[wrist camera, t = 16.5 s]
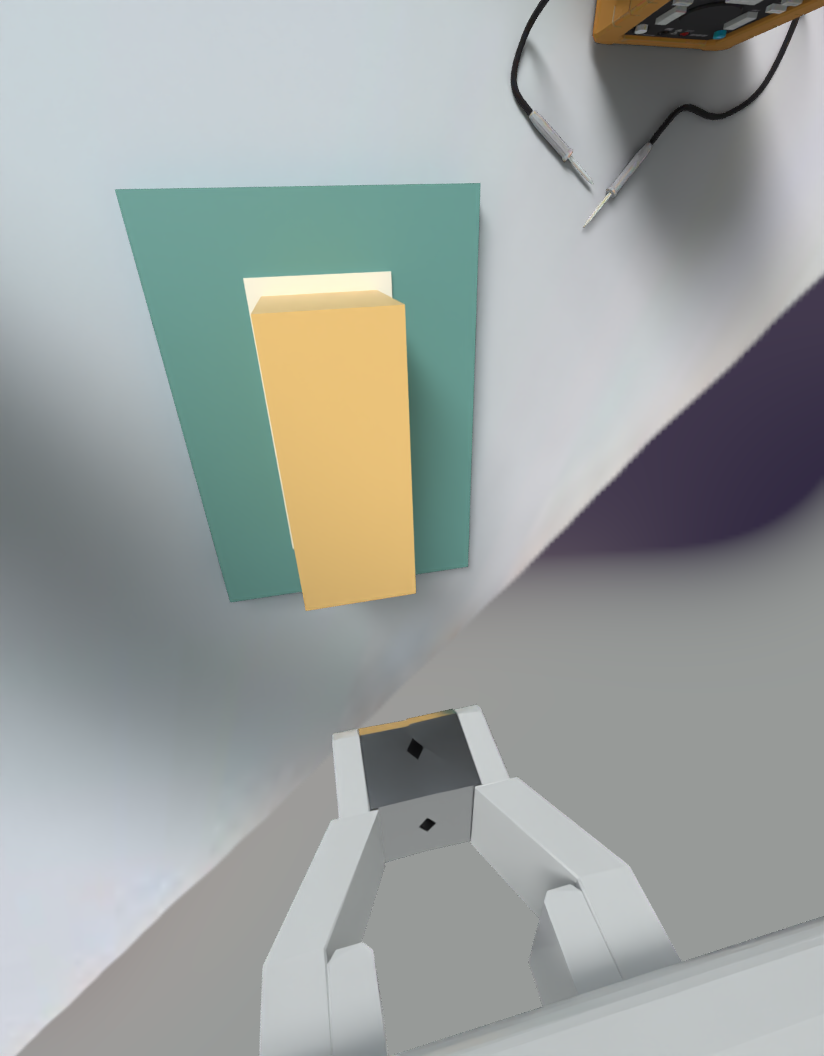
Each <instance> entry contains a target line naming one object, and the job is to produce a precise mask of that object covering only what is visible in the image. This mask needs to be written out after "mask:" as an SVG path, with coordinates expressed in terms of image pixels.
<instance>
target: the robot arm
mask: <svg viewBox="0 0 824 1056" xmlns="http://www.w3.org/2000/svg"><path fill="white" fill-rule="evenodd" d="M359 738H360V739H359ZM332 747H333V758H334V769H335V780H336V791H337V802H338V813H339V818H338V819H334V820H331V822H330V824H329V826H328V828H327V830H326V832H325V834H324V836H323V839H322V841H321V843H320V845H319V847H318V849H317V852H316V854H315V856H314V858H313V860H312V862H311V864H310V866H309V868H308V871H307V873H306V875H305V878H304V879H303V882H302V884H301V886H300V888H299V890H298V892H297V894H296V896H295V898H294V901H293V903H292V905H291V907H290V909H289V911H288V913H287V915H286V918H285V920H284V922H283V924H282V926H281V928H280V930H279V933H278V935H277V937H276V939H275V941H274V943H273V946H272V948H271V950H270V952H269V954H268V957H267V958H266V960H265V963H264V965H263V970H262V996H261V1024H260V1051H259V1056H389V1054H388V1046H387V1039H386V1032H385V1024H384V1017H383V1010H382V1003H381V997H380V991H379V984H378V978H377V972H376V965H375V959H374V952H373V949H371V948H370V947H368V946H367V945H366V944H364V943H363V942H362V939H363V936H364V933H365V929H366V926H367V923H368V920H369V916H370V913H371V910H372V907H373V904H374V900H375V897H376V894H377V891H378V888H379V884H380V881H381V878H382V875H383V872H384V868H385V863H386V862H389V861H393V860H396V859H400V858H403V857H407V856H410V855H414V854H417V853H421V852H424V851H428V850H433V849H437V848H442V847H446V846H450V845H455V844H460V843H464V842H468V841H471V844H472V845H473V846H474V848H475V849H476V850H477V851H478V852H479V853H480V854H481V855H482V856H483V858H484V859H485V860H486V861H487V862H488V863H489V864H490V865H491V866H492V867H493V869H494V870H495V871H496V872H497V873H498V874H499V875H500V876H501V877H502V878H503V880H504V881H505V882H506V883H507V884H508V885H509V886H510V887H511V888H512V889H513V890H514V892H515V893H516V894H517V895H518V896H519V897H520V898H521V899H522V900H523V902H524V903H525V904H526V905H527V906H528V907H529V908H530V909H531V910H532V911H533V913H534V914H535V915H536V916H537V917H538V918H539V923H538V927H537V930H536V934H535V938H534V942H533V946H532V950H531V954H530V958H529V961H528V963H529V966H530V969H531V972H532V975H533V978H534V981H535V984H536V988H537V990H538V993H539V997H540V1000H541V1003H542V1006H543V1007H540V1008H537V1009H534V1010H531V1011H528V1012H524V1013H521V1014H518V1015H515V1016H512V1017H509V1018H506V1019H503V1020H500V1021H497V1022H493V1023H490V1024H487V1025H484V1026H481V1027H478V1028H475V1029H472V1030H469V1031H466V1032H462V1033H460V1034H456V1035H453V1036H450V1037H447V1038H444V1039H441V1040H438V1041H435V1042H432V1043H428V1044H426V1045H423V1046H419V1047H416V1048H413V1049H410V1050H407V1051H404V1052H401V1053H397V1054H394V1055H391V1056H824V916H822V917H819V918H816V919H813V920H809V921H806V922H804V923H800V924H797V925H794V926H791V927H788V928H785V929H782V930H778V931H776V932H772V933H769V934H766V935H763V936H760V937H757V938H754V939H751V940H748V941H744V942H741V943H739V944H735V945H732V946H729V947H726V948H723V949H720V950H717V951H714V952H710V953H708V954H704V955H701V956H698V957H695V958H692V959H689V960H686V961H682V962H681V960H680V958H679V956H678V954H677V953H676V951H675V949H674V947H673V945H672V943H671V941H670V939H669V938H668V936H667V934H666V932H665V930H664V929H663V927H662V925H661V923H660V921H659V919H658V917H657V916H656V914H655V912H654V910H653V908H652V907H651V905H650V903H649V901H648V899H647V897H646V895H645V894H644V892H643V890H642V888H641V886H640V884H639V882H638V881H637V879H636V877H635V875H634V873H633V872H632V870H631V868H630V866H629V865H628V864H627V863H625V862H624V861H623V860H622V859H620V858H619V857H618V856H617V855H615V854H614V853H613V852H612V851H610V850H609V849H608V848H606V847H605V846H604V845H603V844H601V843H600V842H599V841H598V840H596V839H595V838H594V837H593V836H591V835H590V834H589V833H588V832H586V831H585V830H584V829H583V828H581V827H580V826H579V825H577V824H576V823H575V822H574V821H573V820H571V819H570V818H569V817H568V816H566V815H565V814H564V813H563V812H561V811H560V810H559V809H557V808H556V807H555V806H554V805H553V804H551V803H550V802H549V801H547V800H546V799H545V798H544V797H542V796H541V795H540V794H539V793H538V792H536V791H535V790H534V789H532V788H531V787H530V786H529V785H527V784H526V783H525V782H524V781H522V780H521V779H520V778H519V777H513V778H510V776H509V773H508V771H507V769H506V766H505V764H504V762H503V759H502V757H501V754H500V752H499V750H498V748H497V745H496V742H495V740H494V738H493V735H492V733H491V730H490V728H489V726H488V723H487V721H486V718H485V716H484V714H483V711H482V709H481V708H480V707H479V706H478V705H471V706H467V707H462V708H458V709H454V710H453V709H449V710H445V711H440V712H436V713H431V714H427V715H422V716H418V717H414V718H409V719H406V720H403V721H398V722H393V723H387V724H382V725H376V726H371V727H366V728H360V729H359V733H358V729H354V730H349V731H344V732H339V733H334V734H332Z"/></svg>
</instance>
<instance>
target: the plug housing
mask: <svg viewBox="0 0 824 1056" xmlns="http://www.w3.org/2000/svg"><path fill="white" fill-rule="evenodd" d="M251 320H252V325H253V330H254V336H255V341H256V346H257V352H258V357H259V362H260V368H261V373H262V379H263V384H264V389H265V395H266V400H267V405H268V411H269V416H270V422H271V427H272V432H273V438H274V443H275V448H276V454H277V459H278V464H279V470H280V475H281V481H282V486H283V491H284V497H285V502H286V507H287V513H288V518H289V524H290V529H291V534H292V540H293V545H294V550H295V556H296V561H297V567H298V572H299V577H300V583H301V588H302V593H303V599H304V604H305V609H306V611H309V610H315V609H321V608H327V607H334V606H340V605H346V604H352V603H359V602H365V601H371V600H378V599H384V598H390V597H396V596H403V595H409V594H415V593H416V581H415V555H414V528H413V502H412V476H411V450H410V424H409V398H408V371H407V345H406V319H405V304H403V303H401V302H399V301H397V300H395V299H393V298H392V297H390V296H388V295H386V294H384V293H382V292H380V291H378V290H367V291H349V292H331V293H314V294H296V295H278V296H261V297H260V299H259V301H258V302H257V304H256V306H255V307H254V309H253V311H252V313H251Z"/></svg>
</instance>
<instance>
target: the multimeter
mask: <svg viewBox="0 0 824 1056" xmlns="http://www.w3.org/2000/svg"><path fill="white" fill-rule="evenodd" d="M548 1H549V0H541V1H540V2H539V4H538V6H537V7H536V9H535V10H534V12H533V14H532V15H531V17H530V19H529V21H528V23H527V25H526V27H525V29H524V32H523V34H522V37H521V39H520V42H519V45H518V48H517V51H516V54H515V58H514V61H513V66H512V71H511V86H512V90H513V93H514V96H515V98H516V99H517V101H518V103H519V104H520V105H521V107H522V108H523V109H524V110H525V112H526V113H527V114H528V115H529V118H530V120H531V121H532V123H533V125H534V126H535V127H536V129H537V130H538V131H539V132H540V133H541V134H542V135H543V136H544V138H545V139H546V140H547V141H548V142H549V143H550V144H551V146H552V147H553V148H554V149H555V150H556V151H557V152H558V153H559V155H560V156H561V157H562V160H563V161H564V162H565V161H566V160H567V159H569V160H570V162H571V163H572V164H573V165H574V166H575V167H576V168H577V170H578V171H579V172H580V173H581V174H582V175H583V177H584V178H585V179H586V180H587V181H588V182H590V183H591V184H593V182H592V180H591V177H590V176H589V175H588V174H587V173H586V172H585V171H584V169H583V168H582V167H581V166H580V165H579V164H578V163H577V161H576V160H575V159H574V158H573V157H572V156H571V154H572V153H573V149H571V148H569V147H568V146H567V144H566V143H565V142H564V141H563V140H562V139H561V137H560V136H559V135H558V134H557V133H556V132H555V131H554V129H553V128H552V127H551V126H550V125H549V124H548V122H547V121H546V120H545V119H544V118H543V117H542V116H541V115H540V114H539V113H538V112H536V111H535V110H532V109H531V107H530V106H529V105H528V104H527V102H526V101H525V100H524V99H523V97H522V95H521V94H520V92H519V89H518V86H517V80H516V78H517V68H518V63H519V60H520V56H521V53H522V50H523V47H524V45H525V42H526V39H527V37H528V34H529V32H530V30H531V28H532V26H533V24H534V22H535V21H536V19H537V17H538V16H539V14H540V13H541V11H542V10H543V8H544V7H545V5H546V4H547V3H548ZM822 6H824V0H597V3H596V11H595V19H594V27H593V34H592V35H593V38H594V41H595V42H597V43H601V44H613V43H615V44H631V45H646V46H662V47H678V48H693V49H701V50H708V51H718V50H725V49H728V48H731V47H732V46H734V45H737V44H739V43H741V42H743V41H746V40H748V39H750V38H752V37H754V36H757V35H759V34H761V33H764V32H766V31H768V30H771V29H773V28H775V27H777V26H780V25H782V24H784V23H786V22H789V21H791V20H793V21H792V23H791V26H790V28H789V31H788V33H787V36H786V38H785V40H784V42H783V45H782V47H781V49H780V51H779V54H778V56H777V58H776V60H775V62H774V64H773V66H772V68H771V70H770V71H769V73H768V75H767V76H766V78H765V80H764V81H763V83H762V84H761V85H760V87H759V88H758V89H757V90H756V92H755V93H754V94H753V95H752V96H751V97H750V98H749V99H747V100H746V101H745V102H743V103H742V104H740V105H739V106H737V107H735V108H733V109H731V110H730V111H727V112H725V113H720V114H715V113H709V112H707V111H705V110H703V109H701V108H699V107H697V106H694V105H691V104H685V105H682V106H680V107H678V108H677V109H675V110H674V111H673V112H672V113H671V114H670V116H669V117H668V118H667V119H666V120H665V122H664V123H663V124H662V125H661V126H660V128H659V129H658V130H657V131H656V133H655V134H654V135H653V137H652V138H651V140H650V141H649V142H648V143H646V144H645V145H644V146H643V147H642V148H641V149H640V150H639V151H638V152H637V154H636V155H635V156H634V157H633V159H632V160H631V161H630V162H629V164H628V165H627V166H626V167H625V169H624V170H623V171H622V172H621V174H620V175H619V176H618V177H617V179H616V180H615V181H614V182H613V184H612V185H611V186H610V187H608V188H607V189H606V192H607V195H606V197H605V198H604V199H603V200H602V202H601V203H600V204H599V205H598V207H597V208H596V209H595V210H594V212H593V213H592V214H591V215H590V217H589V218H588V219H587V221H586V223H585V225H584V227H585V226H586V225H587V224H588V223H589V222H590V221H591V220H592V219H593V218H594V216H595V215H596V214H597V213H598V211H599V210H600V209H601V208H602V206H603V205H604V204H605V203H606V201H607V200H608V199H609V198H610V197H612V198H614V197H616V195H617V192H618V191H619V190H620V188H621V187H622V186H623V185H624V183H625V182H626V181H627V180H628V179H629V177H630V176H631V175H632V174H633V172H634V171H635V170H636V169H637V167H638V166H639V165H640V164H641V162H642V161H643V160H644V159H645V157H646V156H647V154H648V153H649V151H650V150H651V148H652V145H653V144H654V143H655V141H656V140H657V138H658V137H659V136H660V134H661V133H662V132H663V131H664V130H665V128H666V127H667V126H668V125H669V123H670V122H671V121H672V120H673V119H674V117H675V116H677V115H678V114H679V113H680V112H682V111H690V112H693V113H695V114H697V115H699V116H702V117H704V118H706V119H711V120H718V119H723V118H726V117H728V116H731V115H733V114H734V113H736V112H738V111H740V110H742V109H743V108H745V107H746V106H748V105H749V104H750V103H751V102H753V101H754V100H755V99H756V98H757V97H758V96H759V95H760V93H761V92H762V91H763V90H764V88H765V87H766V86H767V84H768V83H769V81H770V80H771V78H772V76H773V74H774V73H775V71H776V69H777V67H778V65H779V63H780V61H781V59H782V57H783V55H784V53H785V51H786V49H787V46H788V44H789V42H790V40H791V37H792V35H793V33H794V30H795V28H796V25H797V23H798V20H799V18H800V16H802V15H803V14H807V13H809V12H811V11H813V10H816V9H818V8H820V7H822ZM593 185H594V184H593Z"/></svg>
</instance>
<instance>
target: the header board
mask: <svg viewBox="0 0 824 1056" xmlns="http://www.w3.org/2000/svg"><path fill="white" fill-rule="evenodd" d="M115 192H116V195H117V199H118V202H119V206H120V209H121V213H122V217H123V220H124V224H125V227H126V231H127V235H128V238H129V242H130V245H131V249H132V252H133V256H134V260H135V263H136V267H137V270H138V274H139V278H140V281H141V285H142V288H143V292H144V295H145V299H146V303H147V306H148V310H149V313H150V317H151V320H152V324H153V328H154V331H155V335H156V338H157V342H158V346H159V349H160V353H161V356H162V360H163V363H164V367H165V371H166V374H167V378H168V381H169V385H170V389H171V392H172V396H173V399H174V403H175V406H176V410H177V414H178V417H179V421H180V424H181V428H182V431H183V435H184V439H185V442H186V446H187V449H188V453H189V457H190V460H191V464H192V467H193V471H194V474H195V478H196V482H197V485H198V489H199V492H200V496H201V499H202V503H203V507H204V510H205V514H206V517H207V521H208V525H209V528H210V532H211V535H212V539H213V542H214V546H215V550H216V553H217V557H218V560H219V564H220V568H221V571H222V575H223V578H224V582H225V585H226V589H227V593H228V596H229V600H230V602H237V601H243V600H250V599H257V598H263V597H270V596H276V595H283V594H290V593H296V592H302V588H301V583H300V577H299V572H298V567H297V561H296V556H295V550H294V545H293V540H292V534H291V529H290V524H289V518H288V513H287V507H286V502H285V497H284V491H283V486H282V481H281V475H280V470H279V464H278V459H277V454H276V448H275V443H274V438H273V432H272V427H271V422H270V416H269V411H268V405H267V400H266V395H265V389H264V384H263V379H262V373H261V368H260V362H259V357H258V352H257V346H256V341H255V336H254V330H253V325H252V320H251V313H252V311H253V309H254V307H255V306H256V304H257V302H258V301H259V299H260V297H261V296H278V295H296V294H314V293H331V292H349V291H367V290H378V291H380V292H382V293H384V294H386V295H388V296H390V297H392V298H393V299H395V300H397V301H399V302H401V303H403V304H405V319H406V345H407V371H408V398H409V424H410V450H411V476H412V502H413V528H414V555H415V575H416V574H422V573H429V572H436V571H442V570H449V569H456V568H462V567H468V550H469V519H470V488H471V457H472V427H473V396H474V365H475V334H476V303H477V272H478V242H479V211H480V183H464V184H406V185H348V186H290V187H232V188H174V189H116V190H115Z"/></svg>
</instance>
